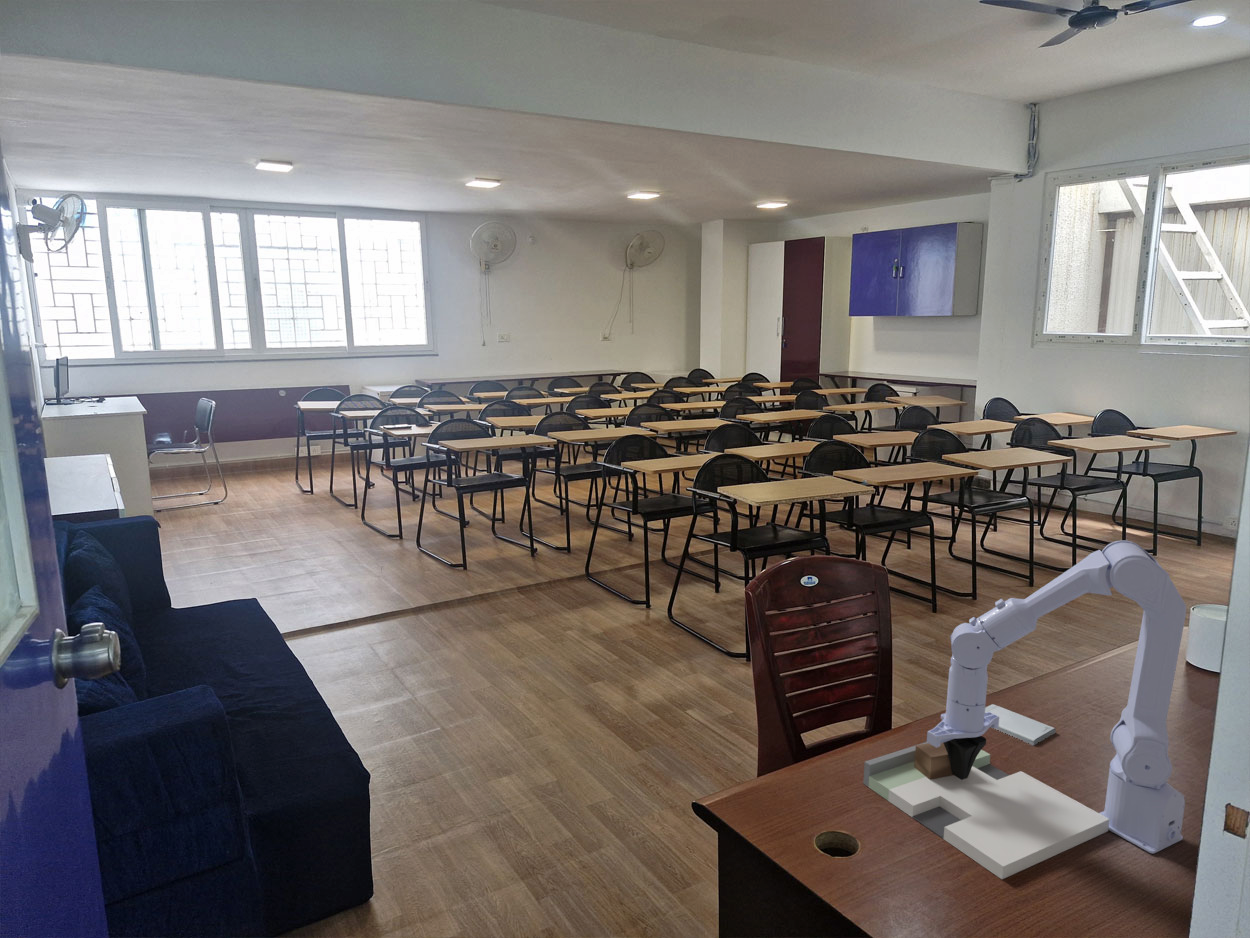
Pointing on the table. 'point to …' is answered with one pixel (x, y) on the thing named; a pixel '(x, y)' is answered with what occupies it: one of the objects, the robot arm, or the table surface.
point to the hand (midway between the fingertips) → (959, 776)
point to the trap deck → (986, 811)
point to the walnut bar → (932, 761)
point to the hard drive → (1020, 725)
